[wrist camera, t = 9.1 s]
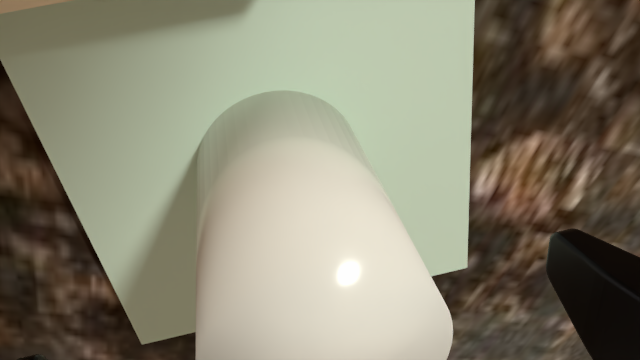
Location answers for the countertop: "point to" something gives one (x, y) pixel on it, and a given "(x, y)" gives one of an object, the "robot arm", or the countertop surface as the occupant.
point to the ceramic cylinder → (304, 244)
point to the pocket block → (24, 4)
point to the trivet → (221, 93)
